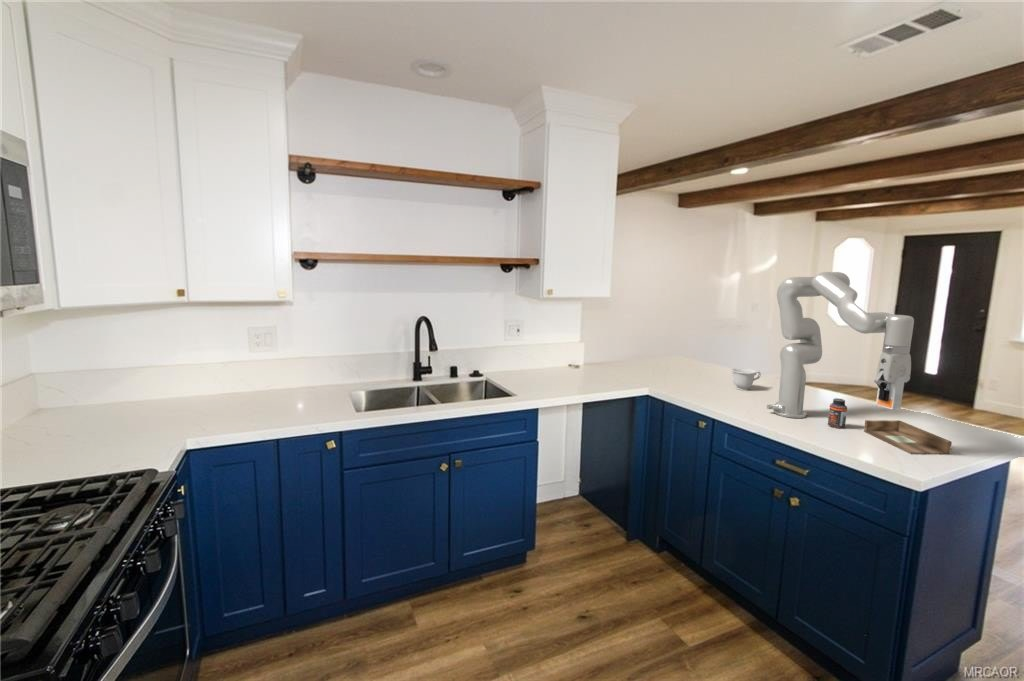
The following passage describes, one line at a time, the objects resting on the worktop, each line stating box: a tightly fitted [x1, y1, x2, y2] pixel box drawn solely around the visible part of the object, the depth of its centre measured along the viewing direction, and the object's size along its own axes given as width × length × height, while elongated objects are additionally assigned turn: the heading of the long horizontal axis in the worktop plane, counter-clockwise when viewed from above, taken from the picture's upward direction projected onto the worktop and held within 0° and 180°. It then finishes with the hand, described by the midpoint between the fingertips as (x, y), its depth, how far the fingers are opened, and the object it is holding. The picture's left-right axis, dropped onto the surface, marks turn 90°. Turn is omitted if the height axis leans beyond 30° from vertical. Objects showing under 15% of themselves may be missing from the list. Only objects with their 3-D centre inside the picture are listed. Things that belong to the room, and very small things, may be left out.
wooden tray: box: [863, 419, 953, 455], centre depth 178 cm, size 14×23×5 cm, turn 179°
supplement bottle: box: [827, 398, 848, 429], centre depth 195 cm, size 6×6×11 cm
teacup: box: [731, 367, 762, 391], centre depth 254 cm, size 12×15×10 cm
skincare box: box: [875, 377, 905, 411], centre depth 172 cm, size 6×4×12 cm
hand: (889, 399), depth 173 cm, fingers closed on skincare box, 4 cm apart
